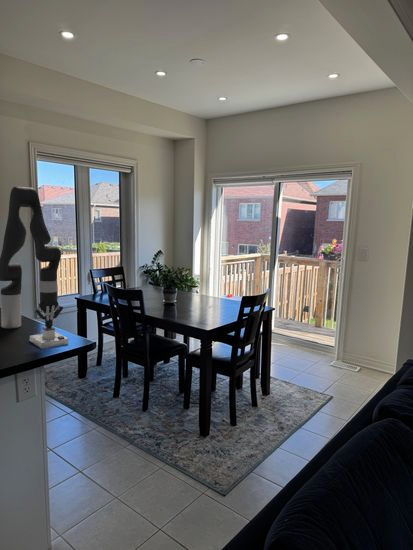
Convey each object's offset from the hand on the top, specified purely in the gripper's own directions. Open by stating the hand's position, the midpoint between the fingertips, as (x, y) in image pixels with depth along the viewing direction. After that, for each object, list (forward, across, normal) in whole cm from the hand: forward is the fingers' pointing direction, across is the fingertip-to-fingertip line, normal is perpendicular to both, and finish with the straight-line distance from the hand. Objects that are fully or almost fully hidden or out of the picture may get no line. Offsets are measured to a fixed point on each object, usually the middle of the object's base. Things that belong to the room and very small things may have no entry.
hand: (48, 327), depth 173 cm
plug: (+7, 0, 0) cm, 7 cm away
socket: (+7, 0, 0) cm, 7 cm away
